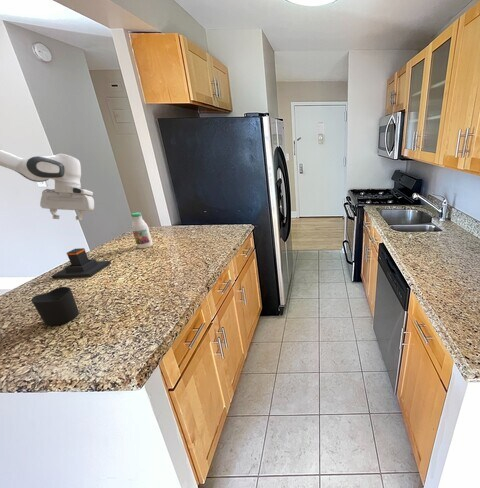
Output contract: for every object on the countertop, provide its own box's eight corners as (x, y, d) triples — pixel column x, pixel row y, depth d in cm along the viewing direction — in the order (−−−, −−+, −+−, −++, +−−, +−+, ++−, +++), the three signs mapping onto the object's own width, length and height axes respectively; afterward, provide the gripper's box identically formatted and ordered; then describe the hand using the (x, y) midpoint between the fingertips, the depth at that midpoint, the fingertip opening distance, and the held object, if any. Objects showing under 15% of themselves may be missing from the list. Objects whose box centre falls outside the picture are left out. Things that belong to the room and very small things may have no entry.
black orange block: (73, 270, 121) (66, 252, 117) (81, 265, 126) (75, 248, 122) (82, 270, 121) (75, 252, 118) (91, 265, 126) (84, 248, 122)
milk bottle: (141, 244, 155) (132, 211, 148) (155, 243, 156) (146, 211, 148) (134, 249, 148) (124, 215, 141) (148, 248, 149) (139, 214, 141)
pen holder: (73, 323, 88) (61, 298, 84) (37, 330, 85) (24, 304, 81) (85, 308, 96) (75, 284, 92) (53, 313, 93) (42, 289, 89)
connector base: (52, 278, 117) (49, 270, 115) (77, 264, 130) (74, 257, 128) (90, 276, 118) (87, 269, 117) (111, 263, 131) (108, 256, 130)
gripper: (36, 187, 117) (35, 217, 117) (87, 190, 120) (86, 220, 121) (48, 189, 123) (48, 218, 124) (96, 192, 127) (96, 221, 127)
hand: (67, 219), depth 122 cm, fingers open, 8 cm apart
